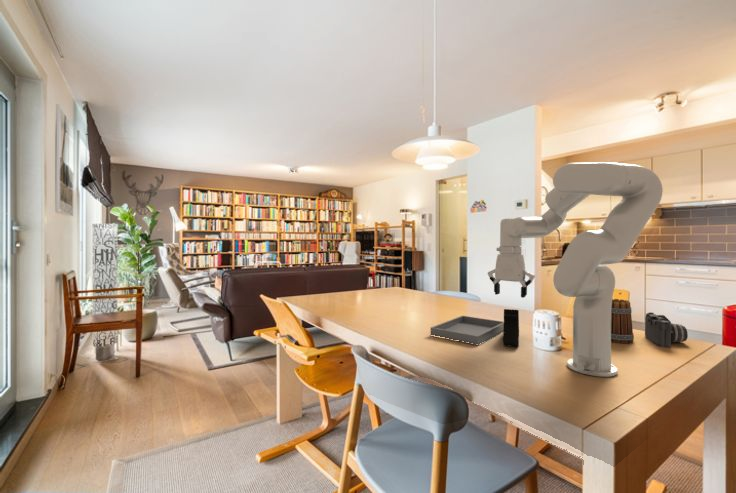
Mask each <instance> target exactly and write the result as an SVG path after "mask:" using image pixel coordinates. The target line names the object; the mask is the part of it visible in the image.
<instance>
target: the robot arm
mask: <svg viewBox="0 0 736 493" xmlns="http://www.w3.org/2000/svg"><path fill="white" fill-rule="evenodd" d="M552 184H553V186H554V187H553V188H552V189H551V190H550V191H549V192H548V193H546V194H545V199H544V200H545V203H546V205H547V207H548V208H549V209H548V210H547V211H545V212H544V213H543V214H542V215H540V216H520V217H514V218H512V217H511V218H503V219H501V220H500V226H499V227H500V232H499V233H500V234H499V240H500V241H499V246H498V247H496V248H495V249H496V251H497V252H499V253H498V254H497V256H496V261H495V268H494V269H492V270H490V271H488V272H487V275H488V277H489V280H490V281H491V282H492V284H493V292H494V295H500V293H501V284H500V282H501V281H503V282H504V281H505V282H514V283H520V285H521V287H520V298H523V299H524V298H525V297H526V296H527V295H528V286H530V284H532V283H533V281H534V279H535V278H536V275H534V274H533V273H531V272H529V271H527V270H526V266H525V265H526V264H525V257H524V254H522V243H523V242H522V241H523V240H522V239H533V238H535V239H537V238H538V239H539V238H543V237H547V236H549V235H550V234H552V232H553V233H554V231H555V230H557V229H558V228H559V227H561V226H562V225H563V223H564V221H565V220H566V217H567V216H568V215H567V213H568V212H569V211H570V210H572V209H574V208H575V207H576V206H578V205H579V204H580V203H581V202H582V201H584V200H585V199H586V198H588V197H589V196H590V195H592V196H593V195H594V196H605V197H607V196H609V197H621V200H620V202H618V203H617V204H616V205H615V207H613V208H612V210H611V211H610V212H609V214H608V215H607V216H606V219H605V221H604V222H603V224H602V225H601V227H600V228H599V229H595V230H594V229H593V230H591V229H590V230H586V231H582V232H580V233H578V234H577V235H575V236H574V237H573V238H572V239H571V240H570V242H569V244H568V245H567V248H566V249H565V251H564V253H563V255H562V257H561V259H560V261H559V263H558V265H557V266H556V269H555V271H554V273H553V274H554V275H553V285H554V289H555V290H556V291H557V292H558V293H559V294H560V295H562V296H565V297H569V298H574V297H575V299H574V301H573V307H572V358H569V359H567V361H566V365H567V367H568V368H569V369H570V370H572V371H574V372H577V373H580V374H584V375H588V376H593V377H600V378H601V377H603V378H605V377H606V378H607V377H608V378H609V377H610V378H611V377H614V376H616V375H618V374H619V370H618V368H617V367H616V366H615V365H614V364H612V342H611V306H612V299H613V296H614V292H615V286H616V277H615V274H614V272H613V271H612V270H611V268H610V267H608V266H607V265H613V264H618V263H621V262H622V261H624V259H625V258H626V257H627V256H628V254H629V253H630V251H631V249H632V248H633V247H634V244H635V243H636V242H637V240H638V239H639V237H640V235H641V234H642V232H643V230H644V228H645V227H646V225H647V223H648V222H649V220H650V219H651V217H652V216H653V214H654V213H655V212H656V210H657V208H658V207H659V205H660V203H661V200H662V196H663V192H664V191H663V189H664V188H663V184H662V182H661V179H660V177H659V176H658V175H657V173H655V172H654V171H653V170H652V169H650V168H647V167H646V166H643V165H638V164H633V163H631V164H630V163H619V162H609V161H607V162H604V161H603V162H602V161H601V162H568V163H565V164H563V165H561V166H560V167H559V168H557V170H556V171H555V172H554V174H553V177H552ZM493 274H494V275H493ZM526 277H528V280H527V281H526Z"/></svg>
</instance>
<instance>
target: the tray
mask: <svg viewBox="0 0 736 493" xmlns="http://www.w3.org/2000/svg"><path fill="white" fill-rule="evenodd" d="M503 328H504V321H501V320H494V319H486V318H480V317H474V316H468V315H460V316H458V317H455V318H452V319H450V320H446V321H445V322H442V323H439V324H436V325H433V326H432V327H430V336H431V335H435V336H440V337H445V338H449V339H453V340H459V341H464V342H469V343H473V344H480V343H482V342H484V341H486V340H488V339H490V338H491V339H493V338H495V337H496V335H497V336H499V335H500V334H502V333H503ZM501 332H502V333H501ZM494 336H495V337H494ZM492 337H493V338H492ZM491 339H490V340H491ZM488 341H489V340H488ZM486 342H487V341H486ZM484 343H485V342H484Z"/></svg>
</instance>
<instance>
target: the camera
mask: <svg viewBox="0 0 736 493" xmlns="http://www.w3.org/2000/svg"><path fill="white" fill-rule="evenodd" d="M644 319H645V320H644V322H645V323H644V337H645V338H646V339H648V340H649V341H650V342H652V343H654V344H655V345H657V346H658V347H661V348H668V349H669V348H671V347H672V344H671V343H684V342H686V341H687V339H688V336H689V335H688V330H687V328H686V327H685V326H684V325H682V324H679V323H673V322H671V320H670V319H669V318H667V317H666V316H665V315H664V314H655V313H654V312H651V311H650V312H647V313H646V314H645V317H644Z"/></svg>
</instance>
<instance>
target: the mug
mask: <svg viewBox="0 0 736 493" xmlns="http://www.w3.org/2000/svg"><path fill="white" fill-rule="evenodd" d="M632 312H633V311H632V307H631V301H629V300H625V299H618V298H612V306H611V343H616V344H617V343H618V344H632V343H633V342H634V339H635V336H634V331H633V321H632Z"/></svg>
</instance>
